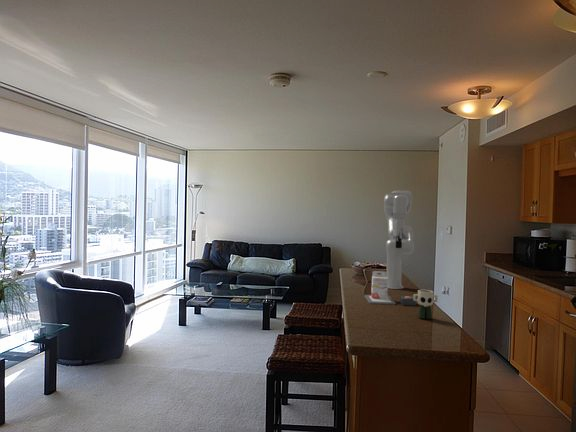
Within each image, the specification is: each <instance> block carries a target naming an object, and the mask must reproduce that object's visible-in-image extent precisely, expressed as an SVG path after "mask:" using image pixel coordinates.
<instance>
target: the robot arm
mask: <svg viewBox="0 0 576 432" xmlns="http://www.w3.org/2000/svg"><path fill="white" fill-rule="evenodd" d="M383 202H384V203H383V211H384V216H385V218H386V220H387V236H388V238H389V239H388V240H386V242H385V250H386V272H387V278H388V289H391V290H403V289H404V286H403V285H402V270H403V268H402V266H403V260H402V258H401V257H400V256H399V255H411V254H413V253H414V251H415V244H414V242H415V241H414V231H413V228H412V227H411V226H409V225H405V223H406V222H405V220H407V214H409V213H411V210H412V205H413V193H412V192H411V191H410V190H393V191H392V192H389V193H386V194H385V195H384V198H383Z"/></svg>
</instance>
